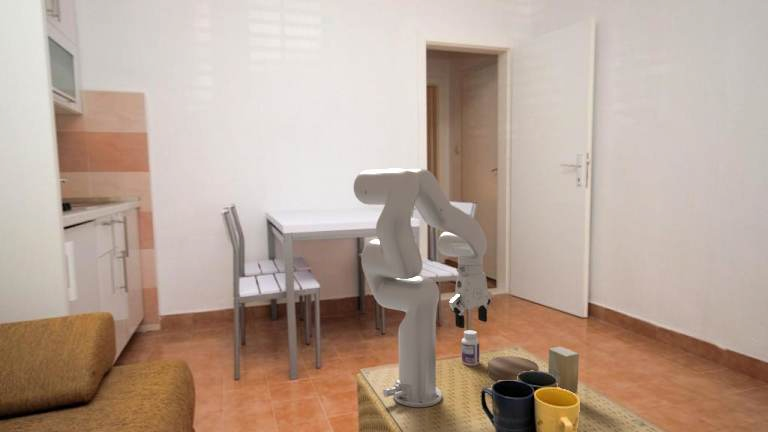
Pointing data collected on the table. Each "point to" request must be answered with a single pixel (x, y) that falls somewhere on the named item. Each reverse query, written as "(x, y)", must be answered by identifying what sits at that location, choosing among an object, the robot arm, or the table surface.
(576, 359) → the skincare box
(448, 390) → the table surface
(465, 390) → the table surface
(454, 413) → the table surface
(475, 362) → the pill bottle
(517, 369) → the walnut base
